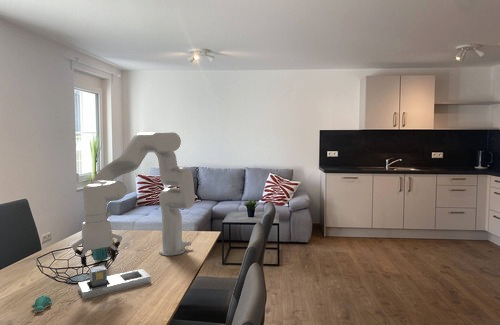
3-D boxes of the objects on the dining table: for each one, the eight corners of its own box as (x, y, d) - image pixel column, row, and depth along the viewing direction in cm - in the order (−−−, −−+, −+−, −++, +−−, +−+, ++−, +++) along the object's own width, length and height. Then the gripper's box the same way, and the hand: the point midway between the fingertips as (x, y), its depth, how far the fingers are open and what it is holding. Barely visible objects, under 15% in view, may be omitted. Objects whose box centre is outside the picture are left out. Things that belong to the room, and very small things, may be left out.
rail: (142, 274, 141) (142, 268, 141) (150, 282, 133) (150, 276, 133) (78, 289, 128) (78, 282, 127) (83, 299, 119) (82, 292, 119)
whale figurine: (54, 302, 118) (54, 291, 117) (48, 313, 111) (48, 301, 110) (35, 305, 116) (34, 294, 116) (28, 315, 109) (27, 304, 109)
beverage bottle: (102, 264, 152) (101, 220, 151) (89, 263, 154) (87, 219, 152) (111, 259, 159) (110, 217, 158) (98, 258, 160) (97, 216, 159)
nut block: (104, 285, 131) (103, 265, 130) (107, 290, 126) (106, 269, 126) (90, 289, 128) (89, 268, 127) (92, 294, 124) (91, 272, 123)
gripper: (118, 212, 133) (120, 254, 135) (68, 219, 123) (71, 265, 125) (123, 215, 127) (125, 260, 129) (71, 224, 117) (74, 272, 119)
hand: (99, 262), depth 127 cm, fingers open, 9 cm apart
